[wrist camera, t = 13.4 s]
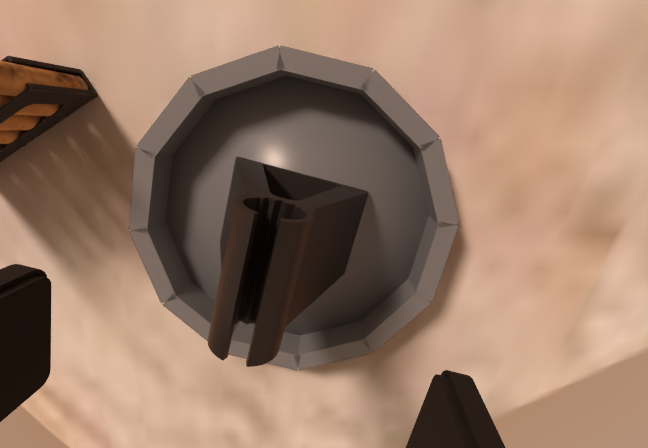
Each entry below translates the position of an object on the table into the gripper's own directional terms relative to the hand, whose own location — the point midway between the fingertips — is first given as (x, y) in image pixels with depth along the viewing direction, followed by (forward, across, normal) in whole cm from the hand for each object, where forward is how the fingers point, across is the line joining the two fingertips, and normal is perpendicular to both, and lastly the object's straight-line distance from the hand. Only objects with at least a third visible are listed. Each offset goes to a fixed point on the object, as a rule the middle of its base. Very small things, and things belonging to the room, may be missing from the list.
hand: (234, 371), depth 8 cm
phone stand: (+16, +1, +1) cm, 17 cm away
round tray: (+17, +1, +1) cm, 17 cm away
